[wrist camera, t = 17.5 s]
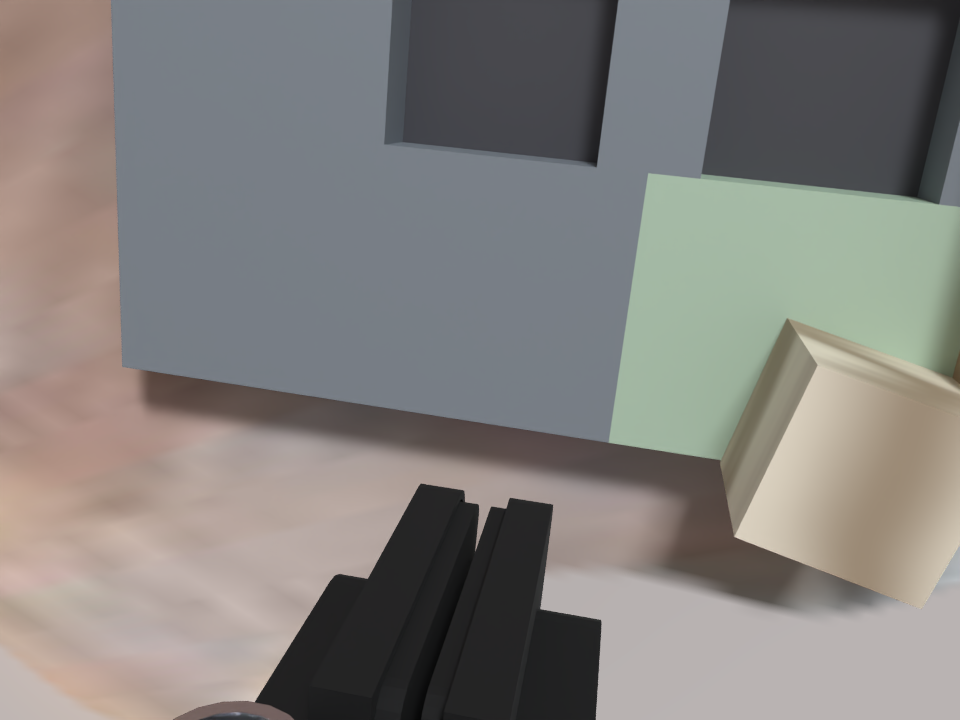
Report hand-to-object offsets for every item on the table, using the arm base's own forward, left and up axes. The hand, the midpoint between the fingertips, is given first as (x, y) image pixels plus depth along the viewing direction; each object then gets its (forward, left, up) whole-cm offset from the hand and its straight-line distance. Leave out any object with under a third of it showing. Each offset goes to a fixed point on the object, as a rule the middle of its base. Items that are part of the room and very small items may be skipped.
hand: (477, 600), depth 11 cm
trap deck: (-2, +4, -19) cm, 20 cm away
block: (+8, -3, -17) cm, 19 cm away
